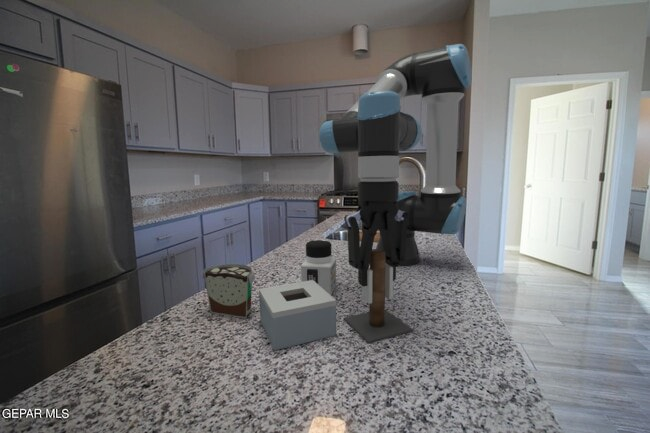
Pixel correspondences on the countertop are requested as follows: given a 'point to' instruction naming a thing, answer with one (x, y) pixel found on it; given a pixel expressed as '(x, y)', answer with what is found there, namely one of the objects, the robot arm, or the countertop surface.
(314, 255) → the container
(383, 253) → the stylus
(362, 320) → the pad
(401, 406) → the countertop surface
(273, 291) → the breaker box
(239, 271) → the food container
